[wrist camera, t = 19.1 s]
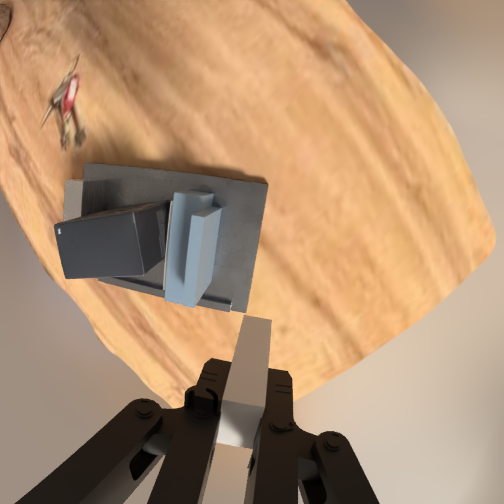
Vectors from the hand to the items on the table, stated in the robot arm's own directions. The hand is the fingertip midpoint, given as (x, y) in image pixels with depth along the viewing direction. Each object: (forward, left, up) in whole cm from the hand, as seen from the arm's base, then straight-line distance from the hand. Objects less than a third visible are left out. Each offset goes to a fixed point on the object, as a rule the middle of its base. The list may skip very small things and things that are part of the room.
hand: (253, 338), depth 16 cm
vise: (0, -15, -21) cm, 25 cm away
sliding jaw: (0, -8, -19) cm, 21 cm away
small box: (0, -16, -20) cm, 26 cm away
